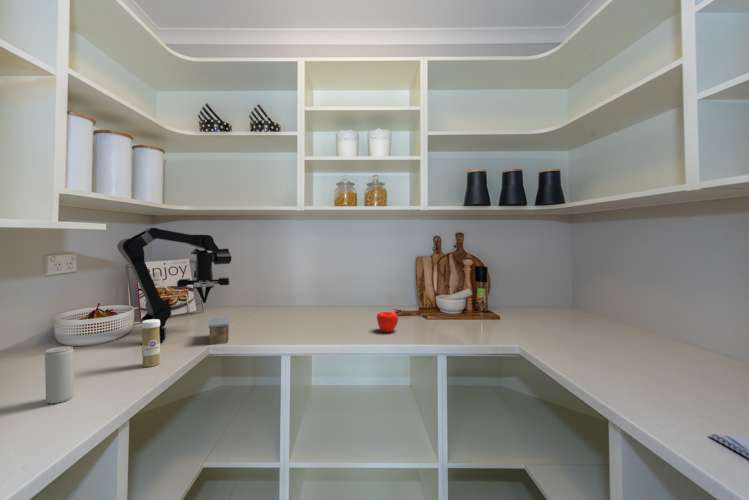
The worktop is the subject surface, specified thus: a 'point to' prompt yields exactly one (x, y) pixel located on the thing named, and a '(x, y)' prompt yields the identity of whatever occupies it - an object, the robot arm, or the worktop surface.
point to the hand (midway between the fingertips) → (204, 302)
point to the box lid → (219, 322)
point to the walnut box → (219, 335)
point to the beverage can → (59, 374)
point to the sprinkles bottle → (150, 342)
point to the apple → (387, 321)
